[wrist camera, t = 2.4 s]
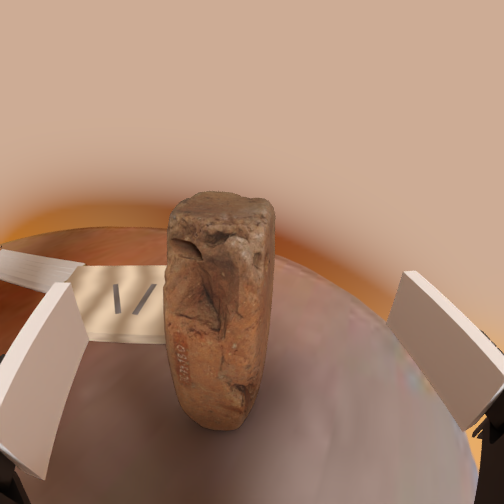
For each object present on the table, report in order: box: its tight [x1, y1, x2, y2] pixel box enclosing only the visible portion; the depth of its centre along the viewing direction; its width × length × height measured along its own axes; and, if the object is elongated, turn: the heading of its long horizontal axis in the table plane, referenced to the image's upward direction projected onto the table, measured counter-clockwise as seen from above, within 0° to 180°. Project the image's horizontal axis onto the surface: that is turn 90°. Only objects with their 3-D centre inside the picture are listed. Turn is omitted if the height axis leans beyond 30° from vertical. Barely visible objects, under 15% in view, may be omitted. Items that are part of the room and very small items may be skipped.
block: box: [163, 191, 275, 431], centre depth 23 cm, size 11×8×20 cm
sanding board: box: [66, 266, 167, 344], centre depth 40 cm, size 28×18×2 cm, turn 98°
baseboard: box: [0, 246, 86, 293], centre depth 44 cm, size 31×3×12 cm
